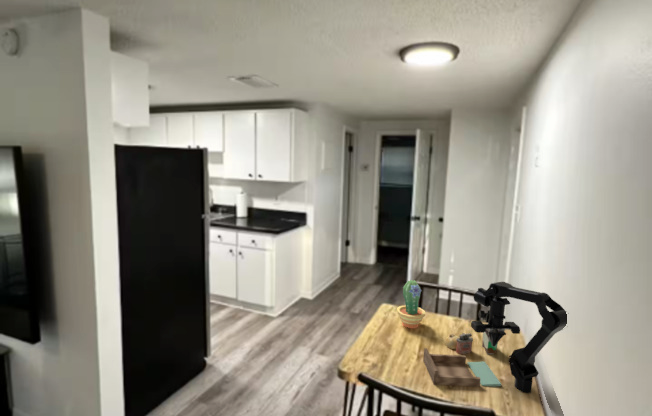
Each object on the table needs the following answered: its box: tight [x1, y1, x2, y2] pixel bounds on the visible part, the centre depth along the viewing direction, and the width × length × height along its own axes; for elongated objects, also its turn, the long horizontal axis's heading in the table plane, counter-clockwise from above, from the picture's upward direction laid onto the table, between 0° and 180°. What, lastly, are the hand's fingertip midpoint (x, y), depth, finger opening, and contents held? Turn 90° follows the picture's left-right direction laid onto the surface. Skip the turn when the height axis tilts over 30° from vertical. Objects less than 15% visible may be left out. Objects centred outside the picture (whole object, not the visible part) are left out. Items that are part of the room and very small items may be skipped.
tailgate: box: [466, 361, 502, 387], centre depth 150 cm, size 1×16×8 cm
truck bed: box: [423, 347, 481, 388], centre depth 150 cm, size 18×17×7 cm
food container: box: [481, 331, 499, 355], centre depth 170 cm, size 12×6×10 cm, turn 168°
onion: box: [444, 333, 460, 351], centre depth 173 cm, size 8×8×7 cm
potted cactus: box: [396, 279, 426, 329], centre depth 196 cm, size 15×15×25 cm
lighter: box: [455, 332, 474, 355], centre depth 167 cm, size 8×3×10 cm, turn 105°
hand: (493, 345), depth 154 cm, fingers closed
